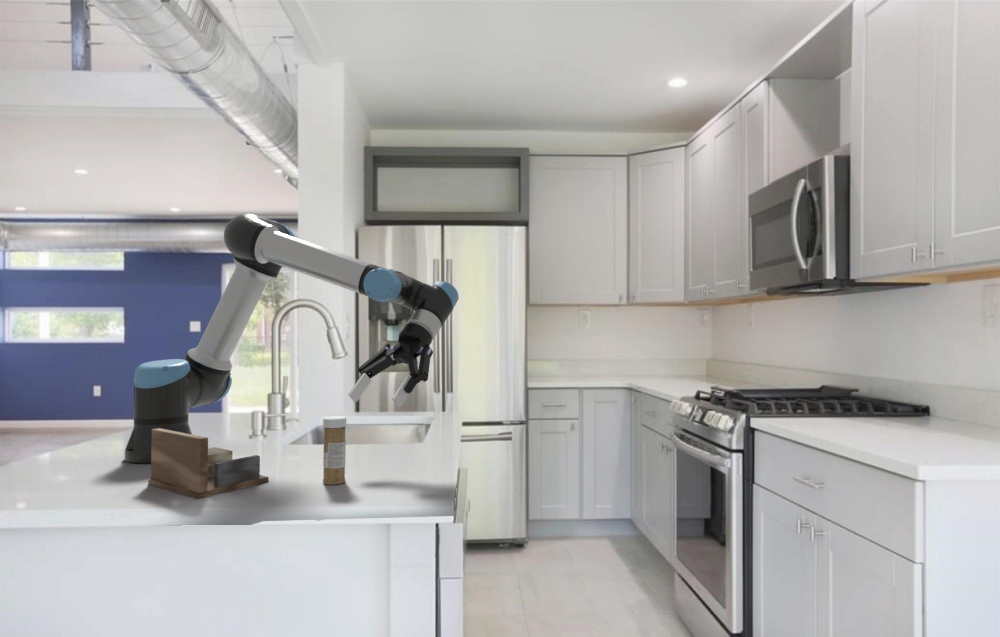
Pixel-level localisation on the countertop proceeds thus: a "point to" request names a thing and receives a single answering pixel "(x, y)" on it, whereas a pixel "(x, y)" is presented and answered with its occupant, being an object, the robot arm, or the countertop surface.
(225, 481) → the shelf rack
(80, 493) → the countertop surface
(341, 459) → the sprinkles bottle
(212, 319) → the robot arm
